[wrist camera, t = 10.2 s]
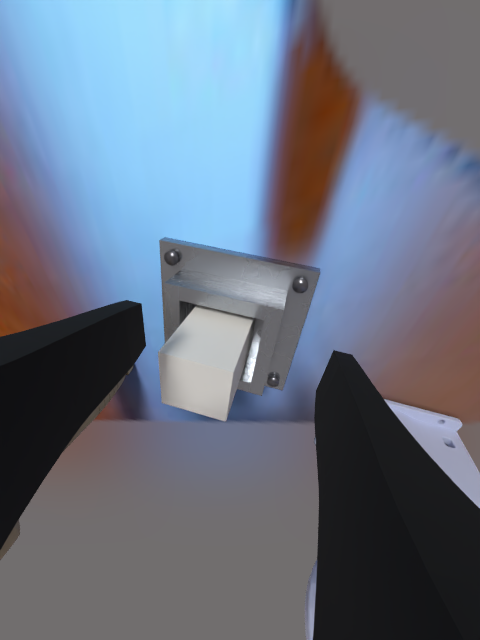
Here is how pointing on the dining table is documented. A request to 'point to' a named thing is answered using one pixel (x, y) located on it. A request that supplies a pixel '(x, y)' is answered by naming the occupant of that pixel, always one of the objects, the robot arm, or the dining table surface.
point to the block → (205, 361)
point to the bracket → (241, 301)
